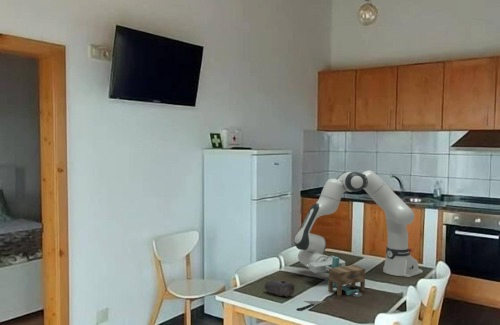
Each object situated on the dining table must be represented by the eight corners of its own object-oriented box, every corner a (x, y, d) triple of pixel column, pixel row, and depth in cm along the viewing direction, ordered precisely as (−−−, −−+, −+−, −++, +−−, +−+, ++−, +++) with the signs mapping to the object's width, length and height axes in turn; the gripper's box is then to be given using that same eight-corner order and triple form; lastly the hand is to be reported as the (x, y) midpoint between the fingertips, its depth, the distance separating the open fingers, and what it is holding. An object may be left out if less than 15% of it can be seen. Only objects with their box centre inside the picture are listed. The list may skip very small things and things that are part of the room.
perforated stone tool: (262, 293, 219) (262, 278, 218) (267, 290, 223) (267, 276, 223) (289, 299, 211) (290, 284, 210) (295, 296, 215) (295, 282, 215)
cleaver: (283, 306, 203) (300, 312, 196) (283, 304, 203) (301, 311, 196) (324, 292, 223) (341, 297, 216) (324, 291, 223) (341, 296, 216)
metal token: (358, 294, 221) (358, 290, 221) (363, 297, 216) (363, 293, 216) (350, 294, 219) (350, 291, 219) (354, 297, 215) (354, 294, 215)
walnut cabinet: (353, 286, 232) (354, 264, 231) (365, 291, 224) (366, 269, 223) (328, 290, 224) (329, 268, 223) (340, 296, 216) (340, 273, 216)
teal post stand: (326, 284, 232) (327, 257, 231) (337, 282, 236) (338, 255, 234) (347, 295, 218) (349, 266, 217) (358, 293, 222) (360, 264, 220)
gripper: (304, 259, 237) (320, 266, 225) (335, 255, 247) (352, 261, 235) (303, 271, 237) (320, 278, 225) (334, 266, 247) (352, 273, 235)
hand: (337, 269), depth 230 cm, fingers closed on teal post stand, 2 cm apart
